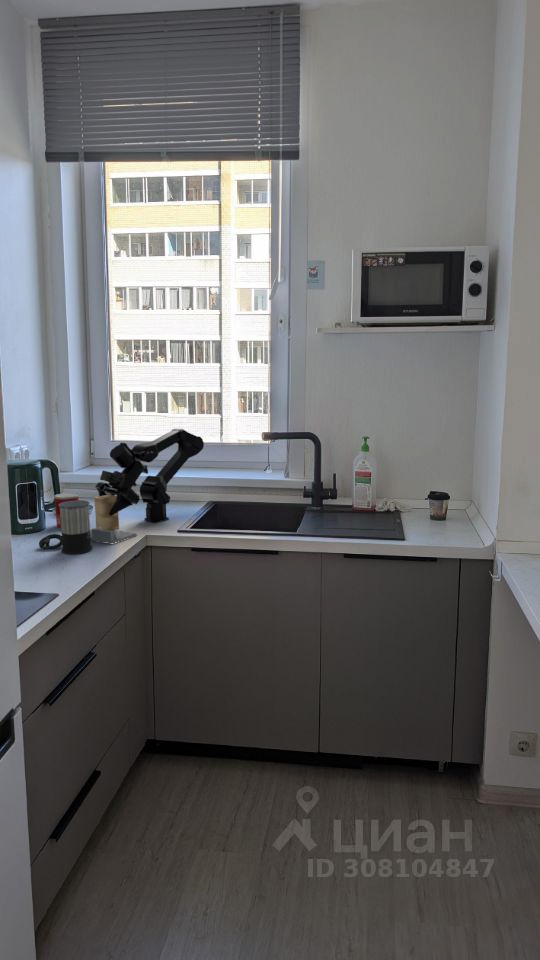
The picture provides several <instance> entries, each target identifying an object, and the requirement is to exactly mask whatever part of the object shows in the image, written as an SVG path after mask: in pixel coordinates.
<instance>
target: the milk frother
mask: <svg viewBox="0 0 540 960" xmlns="http://www.w3.org/2000/svg"><path fill="white" fill-rule="evenodd" d="M89 505H90V502H89V501H88V500H82V499H80V500H79V499H78V500H75V501H67V502H62V503H60V504H59V507H60V518H61V528H60V530H61V534H58V533H53V534H49V535H46V536H44V537H42V538H41V539H40V540H39V542H38V546H39V548H40V549H43V550H48V551H49V550H56V549H58V548H61V552H62V553H63V554H68V555H80V554H85V553H89V552H90V551H92V550H93V549H94V548H93V546H92V541H91V538H92V532H91V522H90V508H89ZM54 539H56V540H59V542H58V543H57V544H54V545H50V543H51V540H54Z"/></svg>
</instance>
